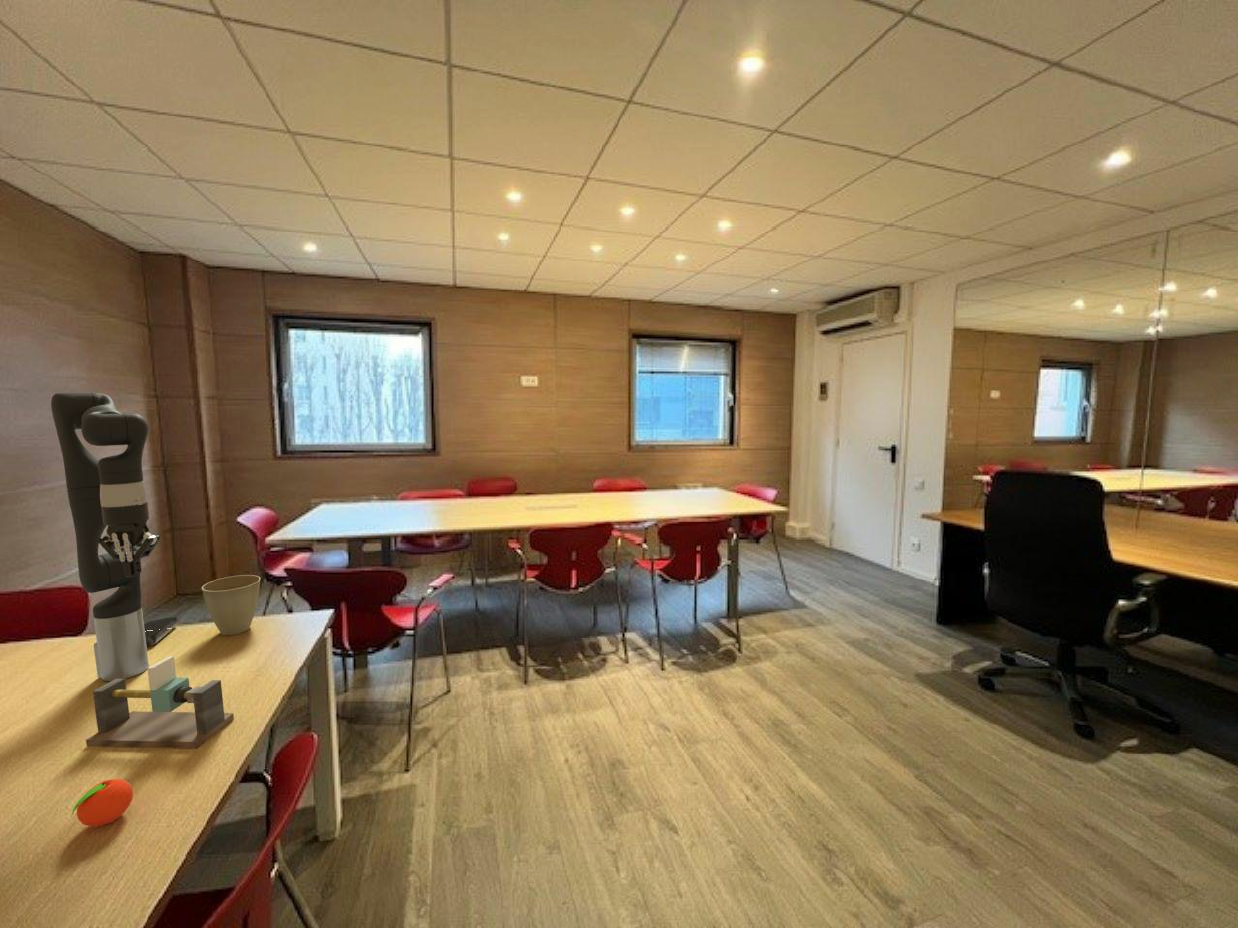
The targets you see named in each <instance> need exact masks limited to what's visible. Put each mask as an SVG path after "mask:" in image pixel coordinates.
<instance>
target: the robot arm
mask: <svg viewBox="0 0 1238 928" xmlns="http://www.w3.org/2000/svg"><path fill="white" fill-rule="evenodd" d="M51 397H52V398H51V401H50V406H51V407H50V408H51V413H52V418H53V423H54V426H55V429H56V434H57V435H56V436H57V438H58V442H59V446H60V450H61V454H62V460H63V468H64V475H65V483H66V484H65V485H66V490H67V491H66V492H67V498H68V503H69V507H70V512H71V517H72V521H73V526H74V532H75V542H76V554H77V555H76V556H77V568H78V569H77V570H78V578H79V581H80V585H81V587H82V589H83V590H84V591H85V592H86V593H89V594H93V593H98V592H103V591H109V590H111V589H115V588H117V590H116V591H115V592H113V593H112V594H111V595H109V596H108V597H105V599H104V598H103V599H102V600H100V601H99V602H97V603H96V604H94V605H93V607H92V614H93V615H92V616H93V622H94V630H95V631H94V632H95V636H96V637H95V638H96V642H95V643H93V652H94V657H95V659H94V661H95V666H96V667H95V668H96V674H97V678H98V679H101V680H102V681H103V682H111V681H113V680H115V679H125V680H126V679H129V678H132V677H134V676H137V675H140V674H142V673H143V672H145V671H147V668H148V667H150V665H149V656H148V655H149V654H148V646H146V637H145V629H144V624H145V622H144V620H145V619H144V613H143V604H142V597H143V596H142V588H141V587H142V586H141V585H142V584H141V573H142V562H141V559H143V558H147V557H149V556H150V555H151V553H152V552H153V550H154V548H155V547H156V546H157V544H158V543H159V541H160V540H161V536H160V535H153V534H152V533H150V529H149V527H148V525H147V523H148V521H149V519H150V515H149V514H150V513H149V505H148V504H149V503H148V496H147V488H146V485H145V482H144V473H143V465H142V464H143V453H144V449H145V445H146V441H147V438H148V434H149V424H148V422H147V421H146V419H145V418H144V417H143V416H142V415H141V414H138V413H121V412H120V411H119V409H118V407H117V405H116V403H115V402H114V400H113V399H112V398H111V396H109V395H108V394H105V393H100V392H57V393H56V392H55V394H53V396H51ZM76 430H81V434H82V436H83V439H84V441H85V442H86V443H88V444H90V445H91V446H97V447H108V446H109V447H110V446H112V447H113V446H127V447H126V449H125V450H124V451H123V452H121V453H119V454H115V455H109V456H105V457H103V458H100V459H99V458H97V457H96V456H94V454H92V453H91V452H90V451H89V450H88V449H87V448H86V447H85V445H84V444H83V442H81V440H80V438H79V436H78V435H77V432H76ZM105 530H106V533H105V534H104V535H103V533H104V531H105ZM102 535H103V536H102ZM99 545H100V546H101V547H102V548H103V550H105V552H106V553H105V554H99Z"/></svg>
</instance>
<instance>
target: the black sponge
mask: <svg viewBox="0 0 1238 928" xmlns="http://www.w3.org/2000/svg"><path fill="white" fill-rule="evenodd" d="M177 626H178V619H177V616H175V617H174V616H173V617H172V616H171V617H164V618H160V619H156V620H155V619H154V620H150V621H148V622H144V629H145V631H146V632H145V637H146V646H147V647H148V646H152V645H153V646H154V645H156V644H157V643H159V641H161V639H163V638H164V637H165V636H166V635H167V634H169V633H170V632H171V631H172V630H173V629H175V628H176V627H177ZM167 628H173V629H167ZM159 629H160V630H159ZM147 630H153V631H147Z"/></svg>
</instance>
